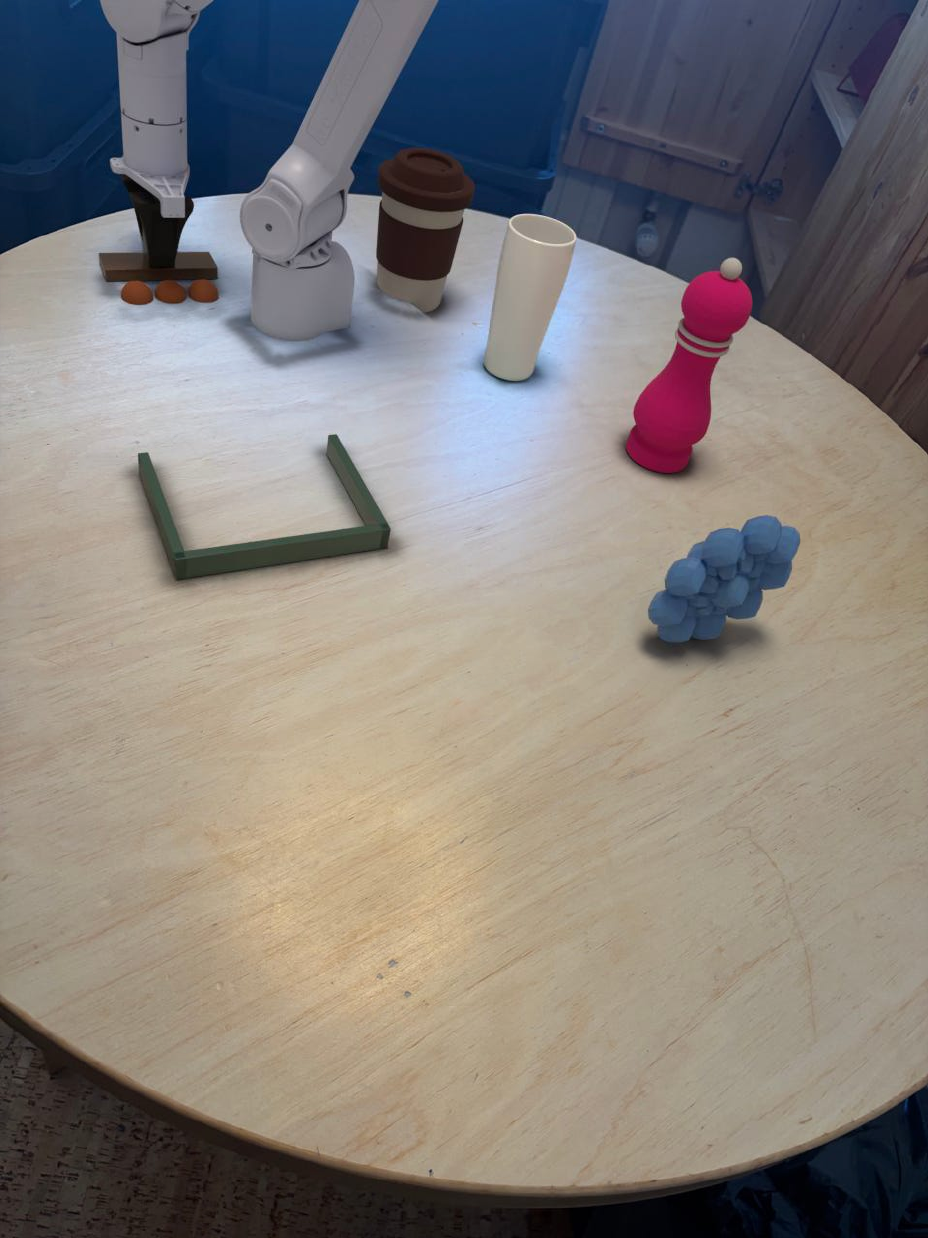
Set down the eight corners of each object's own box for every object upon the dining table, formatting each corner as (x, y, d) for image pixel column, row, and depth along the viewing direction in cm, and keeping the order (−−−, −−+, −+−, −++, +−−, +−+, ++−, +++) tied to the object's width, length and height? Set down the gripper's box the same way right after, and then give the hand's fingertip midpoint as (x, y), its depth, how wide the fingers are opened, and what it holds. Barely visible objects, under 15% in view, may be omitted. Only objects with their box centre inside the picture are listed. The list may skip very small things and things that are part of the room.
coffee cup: (350, 278, 107) (366, 138, 96) (430, 276, 111) (454, 142, 101) (382, 323, 101) (403, 180, 91) (465, 319, 105) (494, 182, 95)
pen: (138, 473, 76) (137, 452, 75) (334, 452, 83) (336, 433, 82) (175, 580, 69) (175, 559, 67) (387, 547, 76) (391, 528, 74)
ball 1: (145, 301, 95) (143, 272, 93) (159, 315, 94) (158, 287, 91) (116, 306, 93) (114, 277, 91) (130, 320, 92) (128, 291, 90)
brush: (100, 277, 96) (93, 191, 90) (209, 275, 101) (209, 193, 95) (107, 295, 94) (100, 208, 88) (217, 292, 99) (218, 209, 93)
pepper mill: (690, 485, 91) (778, 288, 77) (617, 464, 91) (692, 263, 77) (692, 444, 96) (775, 253, 82) (623, 425, 96) (694, 231, 82)
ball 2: (209, 299, 98) (209, 271, 96) (224, 313, 96) (224, 285, 94) (182, 304, 96) (181, 275, 94) (197, 318, 95) (197, 290, 92)
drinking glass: (540, 360, 102) (578, 223, 92) (537, 393, 97) (577, 251, 87) (478, 346, 101) (510, 206, 91) (472, 378, 97) (505, 234, 86)
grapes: (725, 589, 80) (786, 476, 72) (770, 647, 76) (840, 533, 68) (608, 608, 76) (658, 488, 68) (649, 670, 72) (708, 551, 63)
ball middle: (177, 300, 96) (176, 272, 94) (192, 314, 95) (191, 286, 93) (149, 305, 95) (148, 276, 93) (164, 319, 93) (163, 291, 91)
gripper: (93, 81, 89) (103, 224, 98) (124, 143, 80) (132, 293, 90) (170, 86, 92) (173, 224, 101) (208, 146, 83) (207, 291, 93)
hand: (158, 257), depth 96 cm, fingers closed on brush, 2 cm apart
